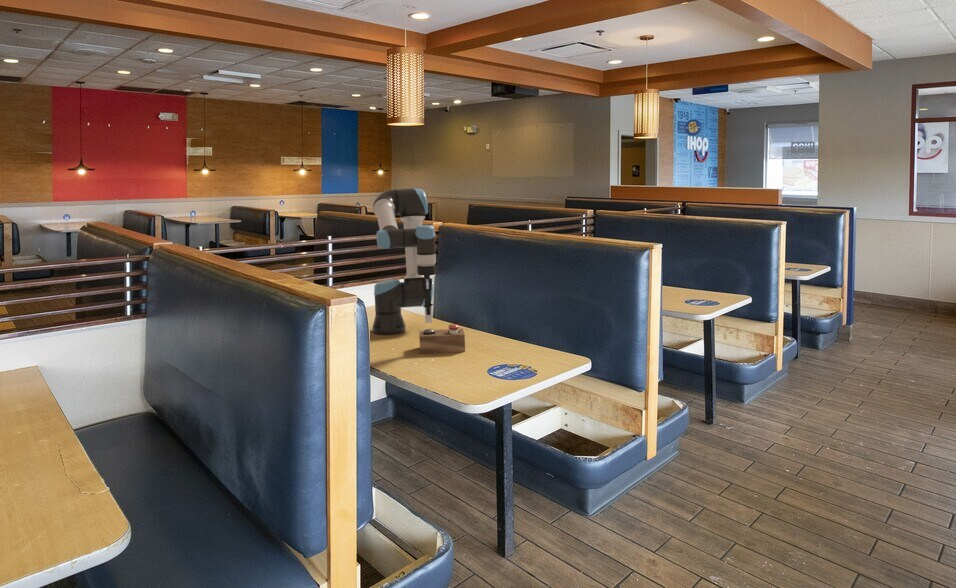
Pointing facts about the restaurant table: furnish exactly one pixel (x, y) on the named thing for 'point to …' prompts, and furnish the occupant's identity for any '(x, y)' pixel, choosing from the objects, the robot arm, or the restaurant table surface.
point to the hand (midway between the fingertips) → (428, 322)
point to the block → (442, 342)
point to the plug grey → (429, 331)
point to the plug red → (453, 328)
